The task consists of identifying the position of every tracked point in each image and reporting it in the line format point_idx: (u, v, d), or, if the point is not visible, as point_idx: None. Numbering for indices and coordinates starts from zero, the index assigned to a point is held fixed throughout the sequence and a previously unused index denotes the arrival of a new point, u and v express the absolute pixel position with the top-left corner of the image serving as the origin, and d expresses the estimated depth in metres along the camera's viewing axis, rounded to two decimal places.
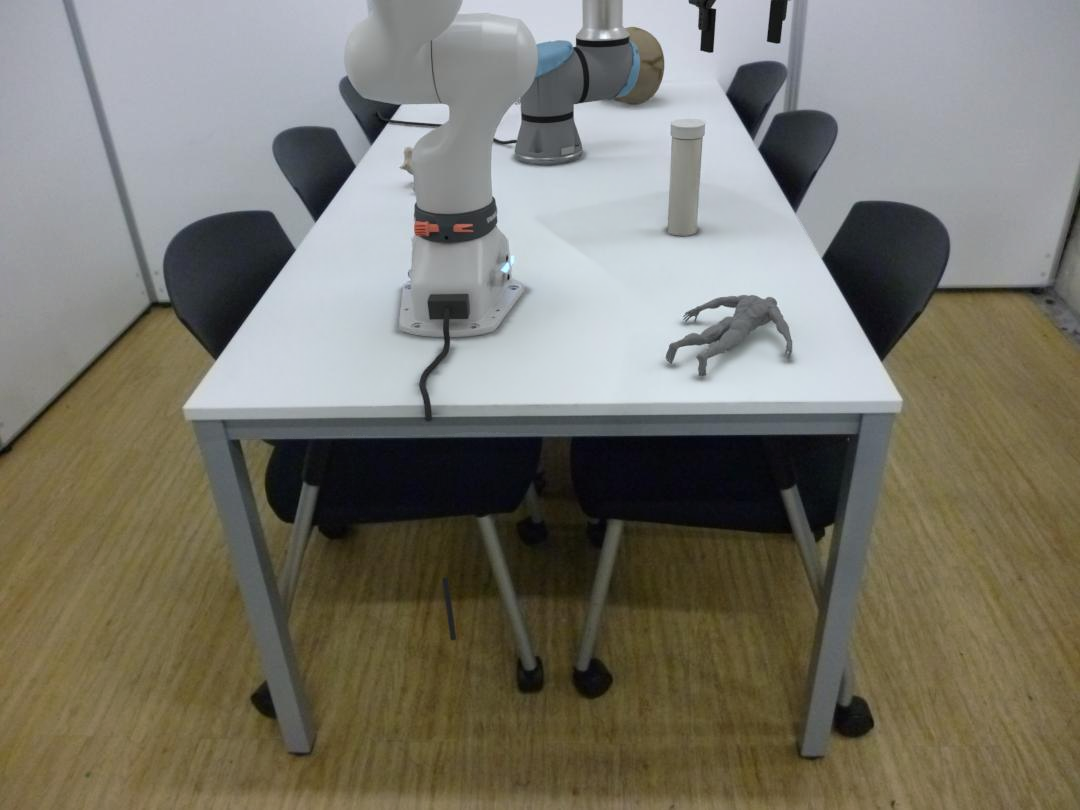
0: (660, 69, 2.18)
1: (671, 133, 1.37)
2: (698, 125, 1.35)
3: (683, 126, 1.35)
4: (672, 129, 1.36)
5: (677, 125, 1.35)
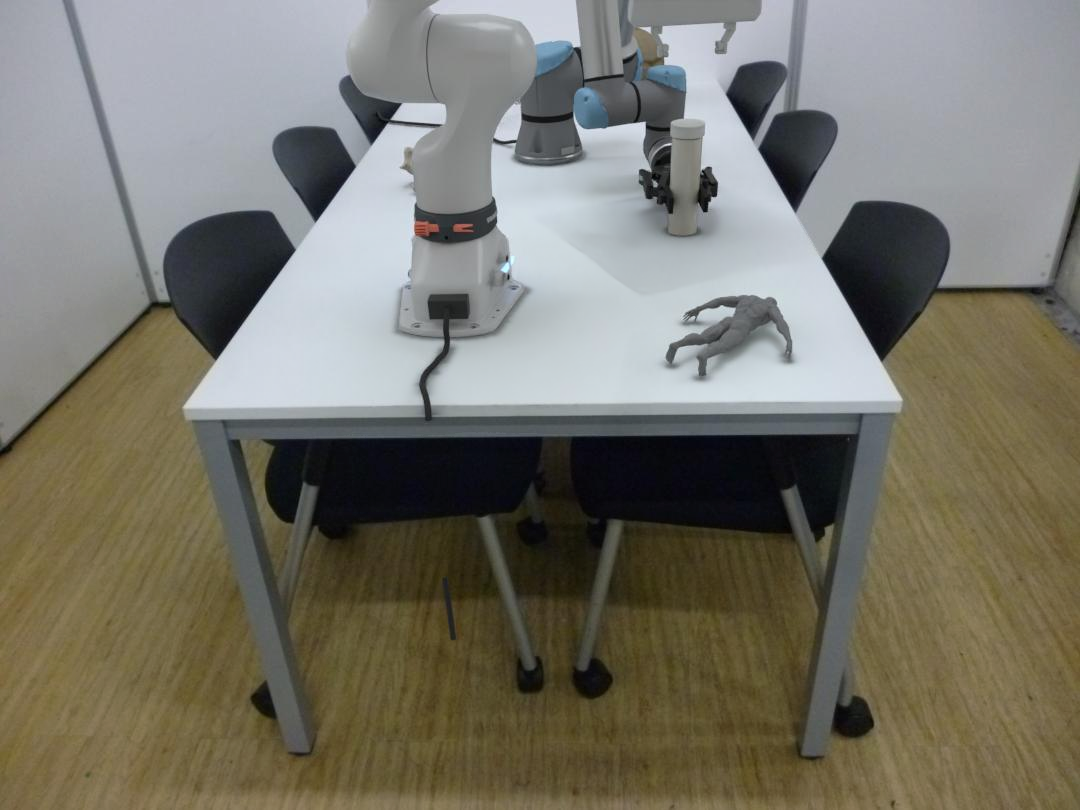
0: None
1: (671, 133, 1.37)
2: (698, 125, 1.35)
3: (683, 126, 1.35)
4: (672, 129, 1.36)
5: (677, 125, 1.35)
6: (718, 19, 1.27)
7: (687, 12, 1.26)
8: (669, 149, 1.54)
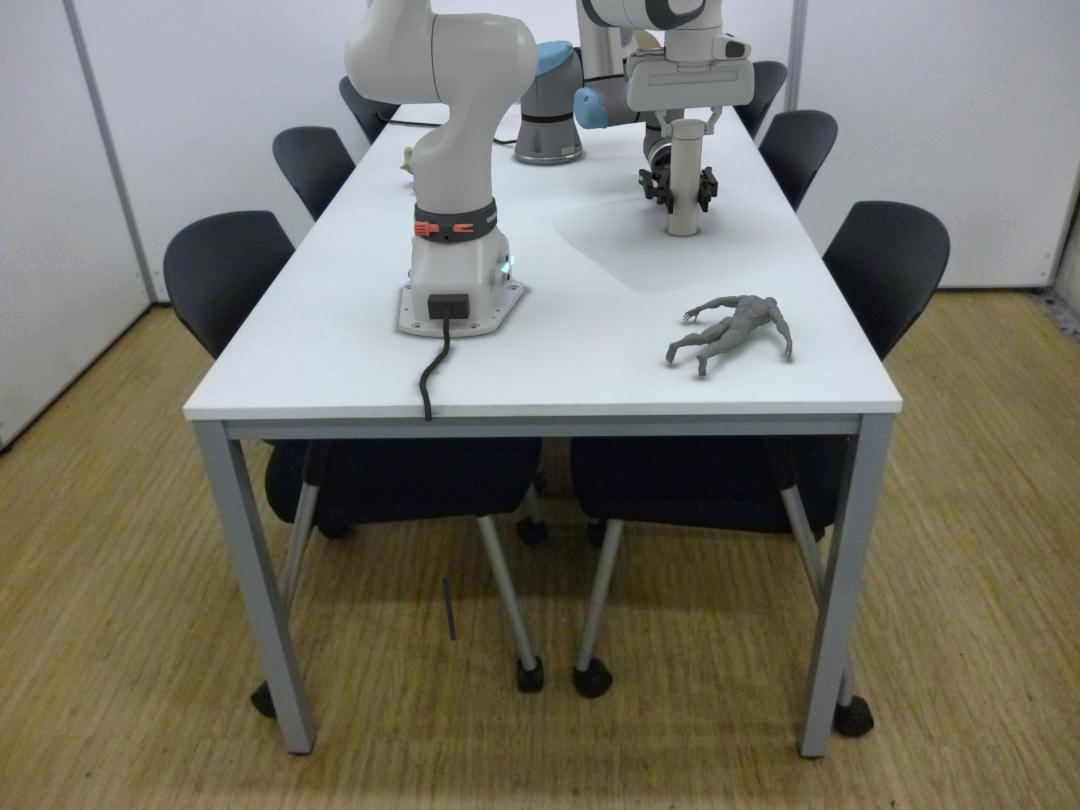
0: None
1: None
2: (698, 125, 1.35)
3: (683, 126, 1.35)
4: (672, 129, 1.36)
5: (677, 125, 1.35)
6: (712, 103, 1.34)
7: (683, 97, 1.33)
8: (669, 149, 1.54)
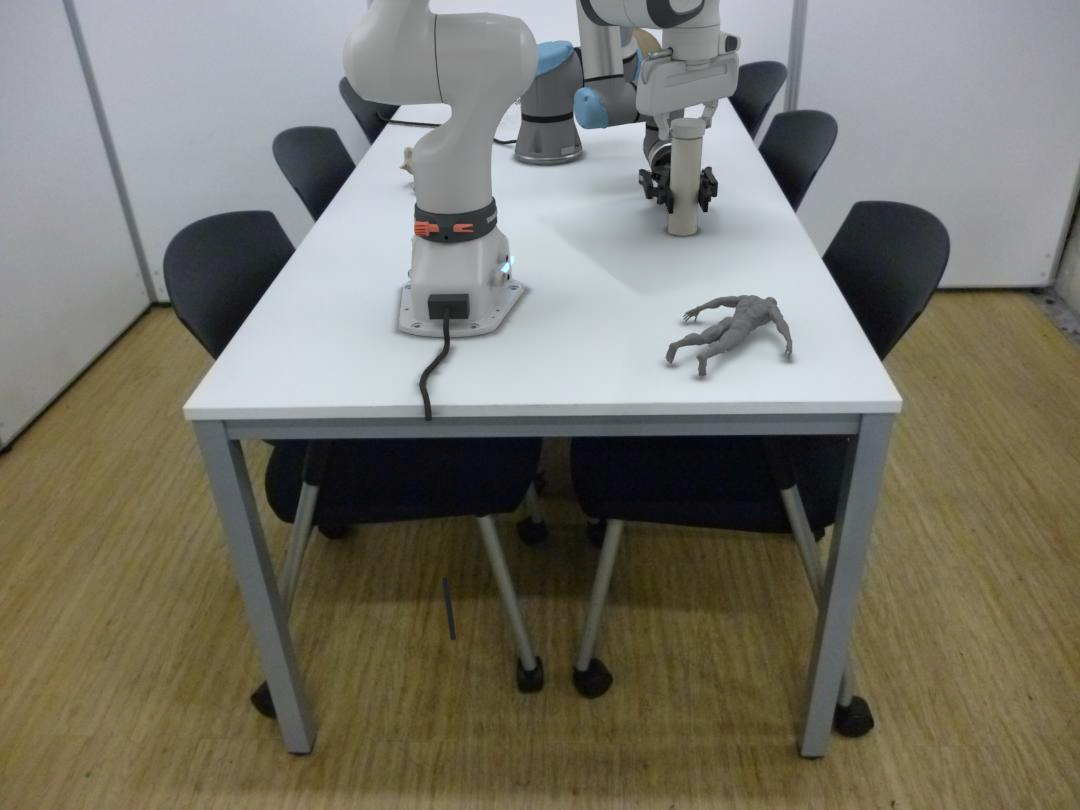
0: None
1: (684, 135, 1.35)
2: (702, 120, 1.37)
3: (698, 124, 1.35)
4: (687, 131, 1.35)
5: (691, 125, 1.34)
6: (709, 99, 1.36)
7: (689, 96, 1.33)
8: (669, 149, 1.54)
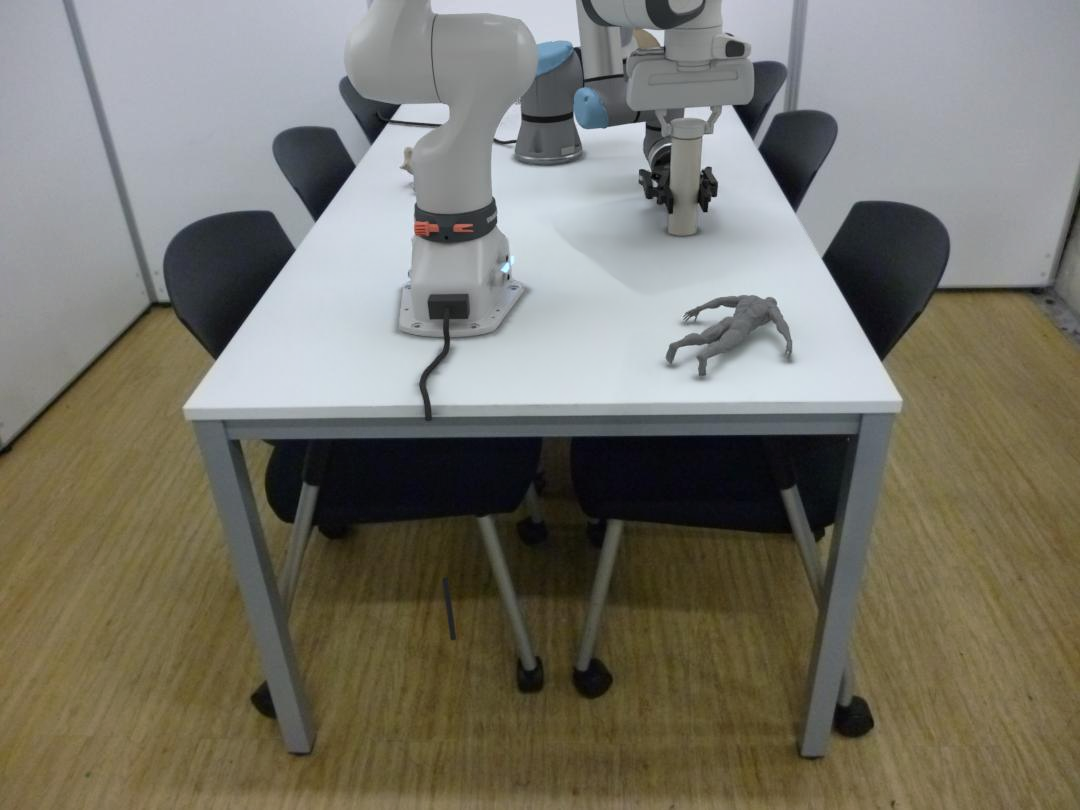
0: None
1: (684, 135, 1.35)
2: (701, 120, 1.37)
3: (697, 124, 1.35)
4: (687, 130, 1.35)
5: (691, 125, 1.34)
6: (712, 103, 1.34)
7: (683, 96, 1.33)
8: (669, 149, 1.54)
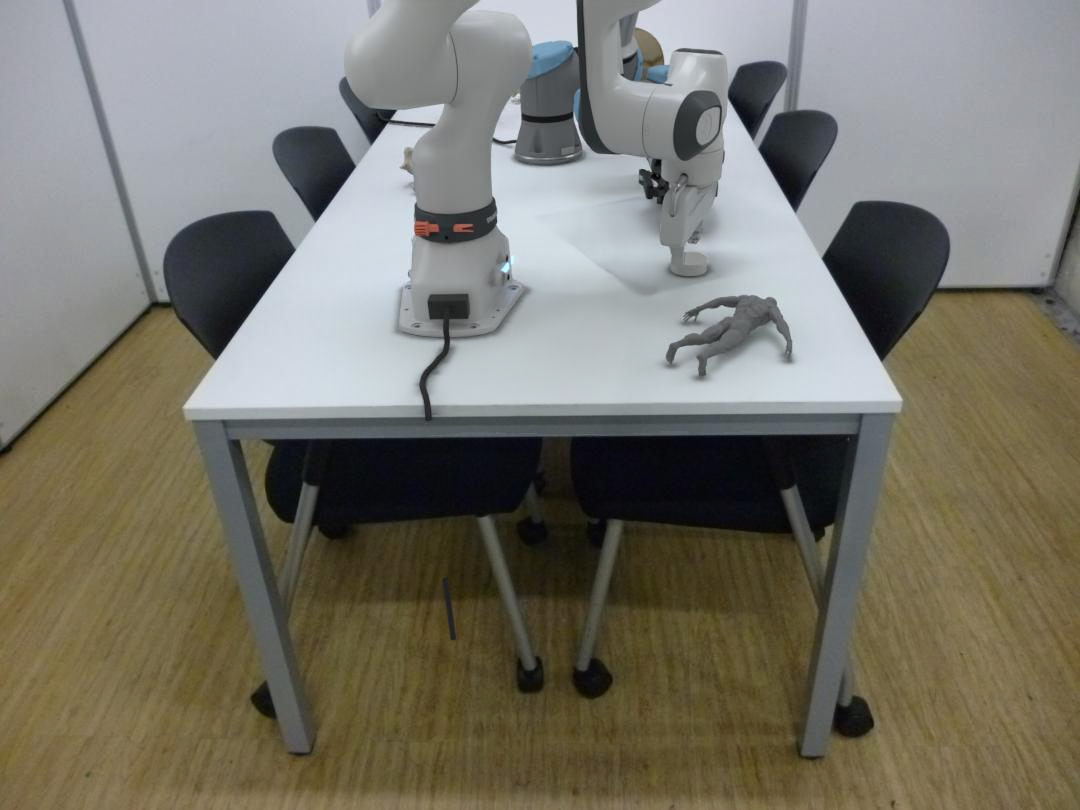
0: None
1: (702, 271, 1.30)
2: (692, 252, 1.33)
3: (703, 257, 1.31)
4: (704, 266, 1.30)
5: (704, 259, 1.30)
6: (704, 215, 1.29)
7: (698, 217, 1.25)
8: None
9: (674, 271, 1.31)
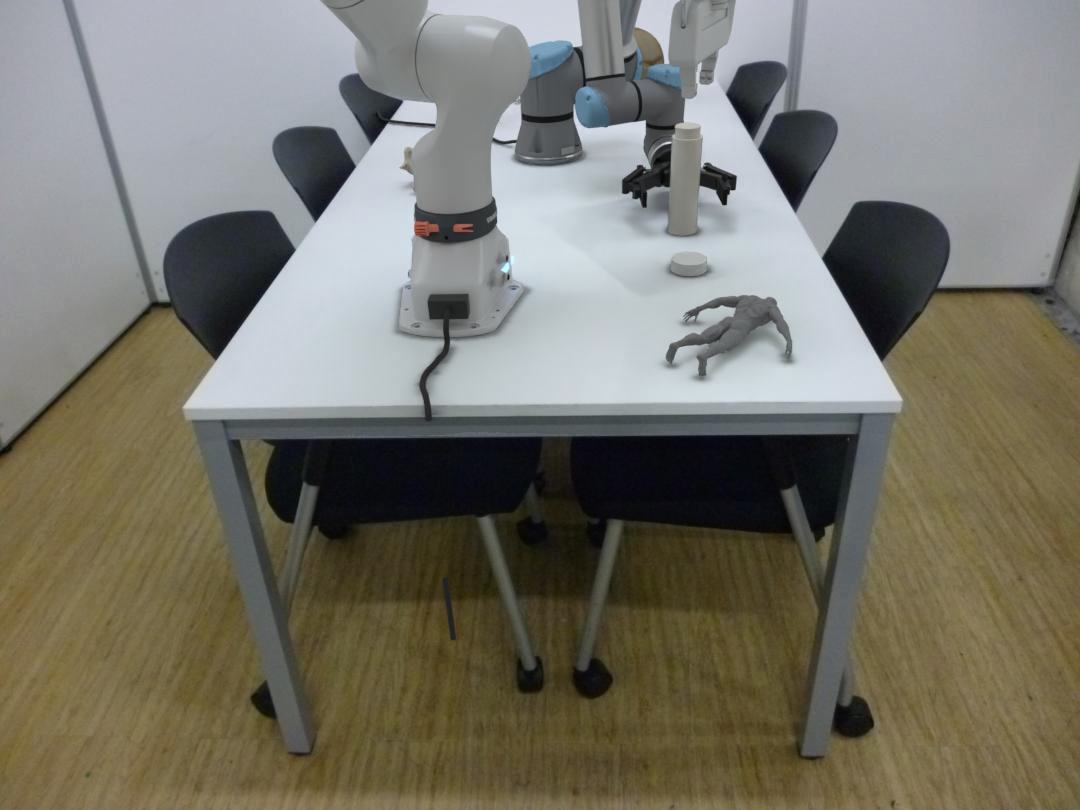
0: None
1: (702, 271, 1.30)
2: (692, 252, 1.33)
3: (703, 257, 1.31)
4: (704, 266, 1.30)
5: (704, 259, 1.30)
6: (719, 46, 1.16)
7: (711, 42, 1.11)
8: (668, 147, 1.55)
9: (674, 271, 1.31)
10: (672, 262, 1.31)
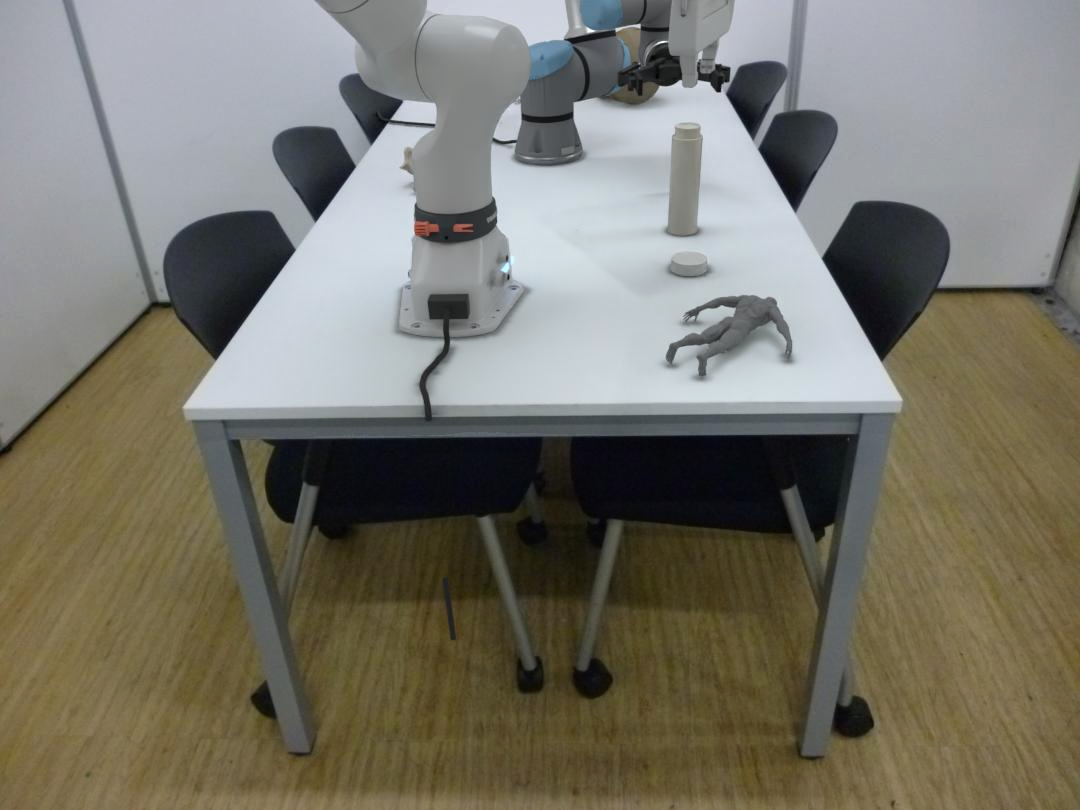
0: None
1: (702, 271, 1.30)
2: (692, 252, 1.33)
3: (703, 257, 1.31)
4: (704, 266, 1.30)
5: (704, 259, 1.30)
6: (719, 35, 1.15)
7: (712, 30, 1.11)
8: (663, 45, 1.57)
9: (674, 271, 1.31)
10: (672, 262, 1.31)
